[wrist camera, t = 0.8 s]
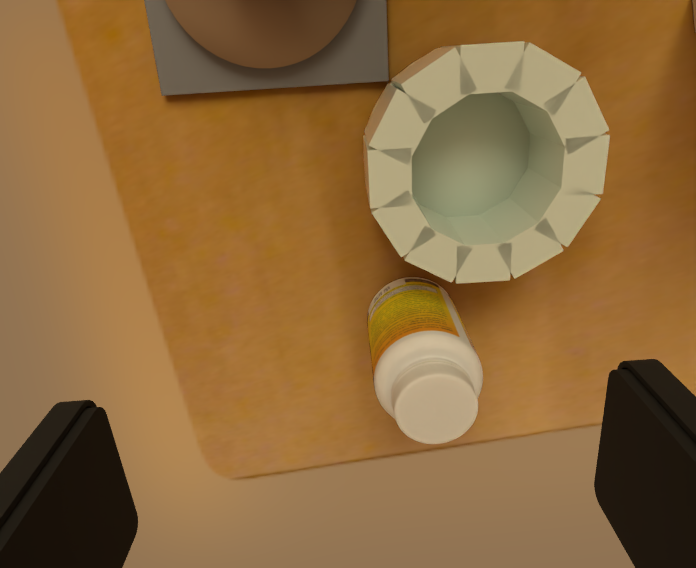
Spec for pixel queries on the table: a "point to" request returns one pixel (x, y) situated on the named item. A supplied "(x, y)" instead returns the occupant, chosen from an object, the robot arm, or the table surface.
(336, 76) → the mat
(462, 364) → the supplement bottle
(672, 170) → the table surface
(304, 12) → the lid
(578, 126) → the bowl
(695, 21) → the low poly bottle
